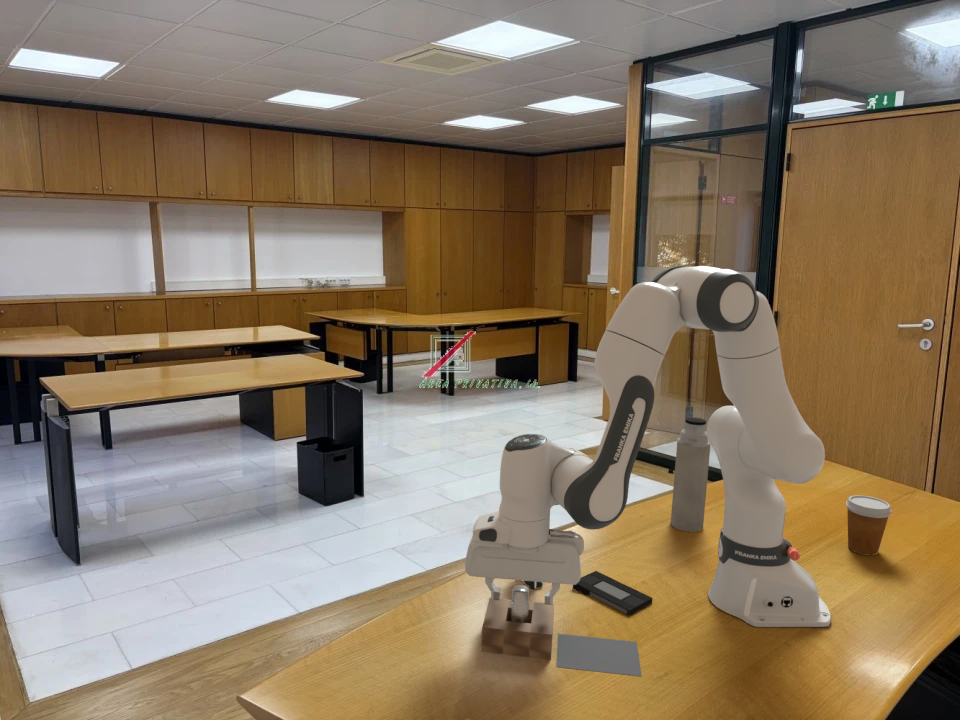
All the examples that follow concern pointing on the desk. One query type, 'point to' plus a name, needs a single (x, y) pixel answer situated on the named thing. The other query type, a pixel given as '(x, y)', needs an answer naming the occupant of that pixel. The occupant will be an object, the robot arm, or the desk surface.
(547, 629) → the hole block
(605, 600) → the vhs tape
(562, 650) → the mat
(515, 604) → the peg
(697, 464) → the thermos bottle
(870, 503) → the disposable coffee cup
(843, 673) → the desk surface
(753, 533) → the robot arm
